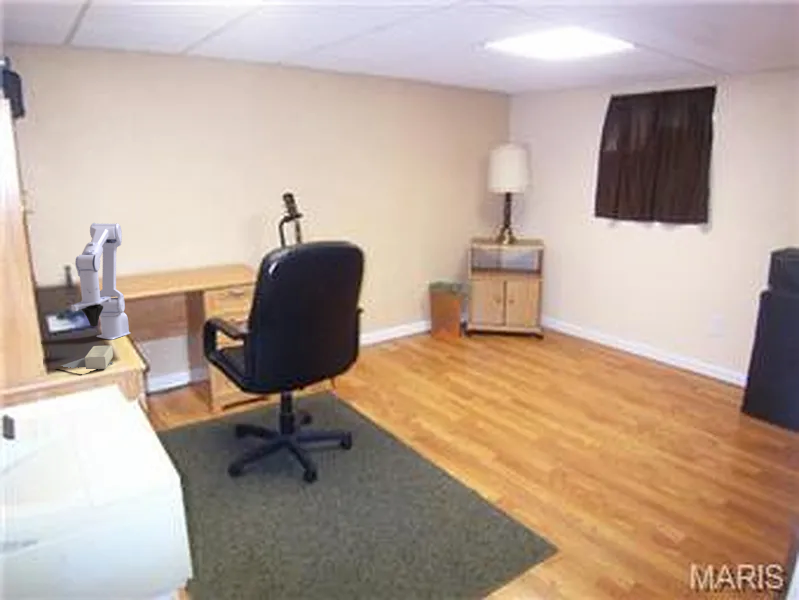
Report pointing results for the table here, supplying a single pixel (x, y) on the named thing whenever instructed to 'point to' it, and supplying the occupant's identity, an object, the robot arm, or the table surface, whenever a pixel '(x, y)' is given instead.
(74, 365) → the mat
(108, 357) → the skincare box
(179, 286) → the table surface
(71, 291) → the table surface
